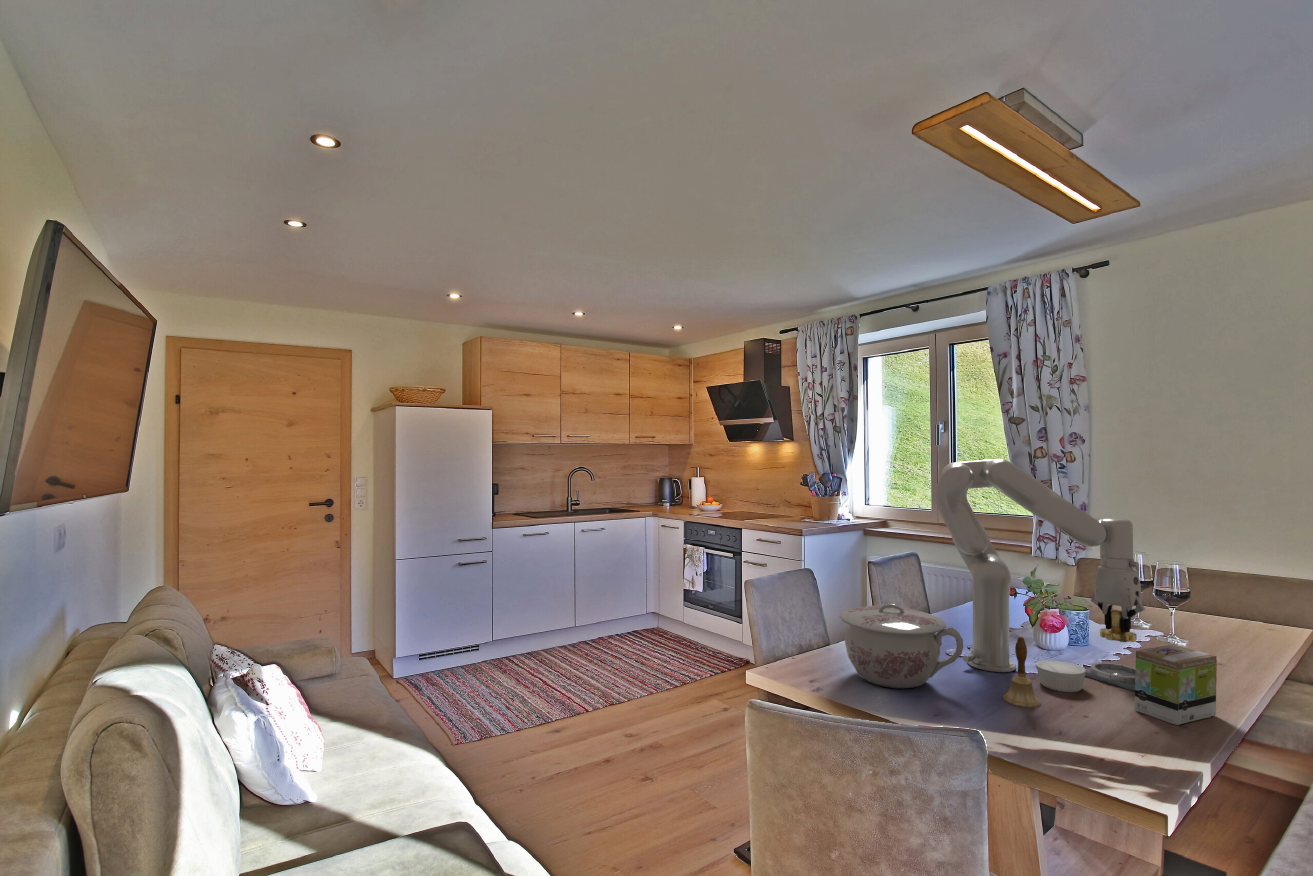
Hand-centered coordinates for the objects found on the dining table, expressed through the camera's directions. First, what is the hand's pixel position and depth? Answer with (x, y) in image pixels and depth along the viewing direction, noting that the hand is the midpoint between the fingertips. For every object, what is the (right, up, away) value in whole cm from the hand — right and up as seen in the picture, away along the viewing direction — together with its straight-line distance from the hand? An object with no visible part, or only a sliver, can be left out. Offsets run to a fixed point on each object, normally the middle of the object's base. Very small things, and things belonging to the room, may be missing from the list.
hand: (1117, 629), depth 181 cm
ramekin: (-19, -14, -6) cm, 24 cm away
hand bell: (-35, -13, -16) cm, 41 cm away
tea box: (-3, -13, -23) cm, 27 cm away
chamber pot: (-63, -13, -2) cm, 64 cm away
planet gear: (0, -2, 0) cm, 2 cm away
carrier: (+1, -13, -2) cm, 14 cm away
